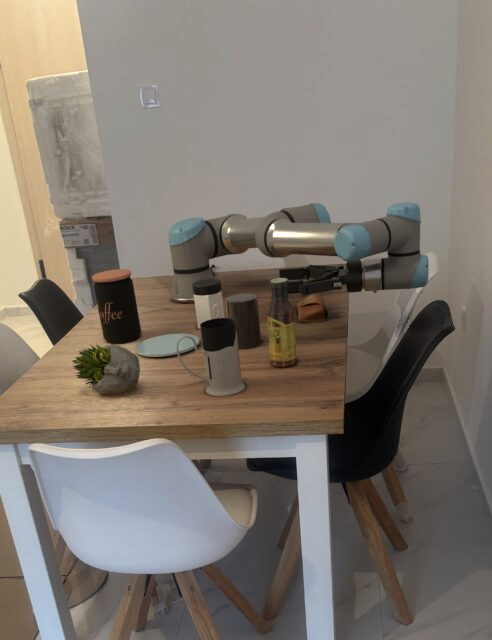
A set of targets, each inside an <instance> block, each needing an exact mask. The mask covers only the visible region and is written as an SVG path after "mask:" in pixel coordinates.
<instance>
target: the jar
mask: <svg viewBox="0 0 492 640" xmlns="http://www.w3.org/2000/svg"><path fill="white" fill-rule="evenodd" d="M222 287H223V286H222V281H221V280H220V279H218V278H214V279H205V280H200V281H196V282H194V283H193V284H192V289H193V294H194V309H195V316H196V324H197V329H198V330H201V328H200V324H201V323H203V322H205V321H207V320H211V319H216V318H226V317H225V306H224V299H223V291H222V290H223V289H222Z"/></svg>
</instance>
